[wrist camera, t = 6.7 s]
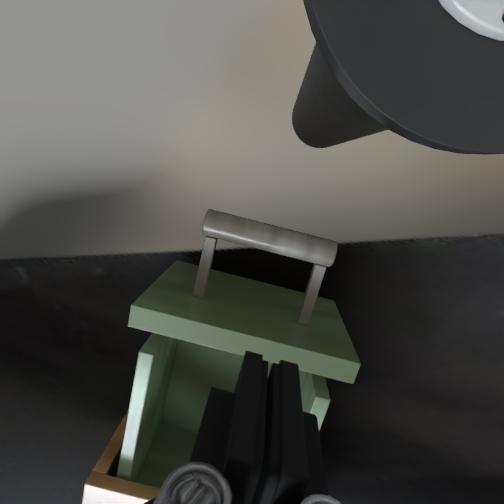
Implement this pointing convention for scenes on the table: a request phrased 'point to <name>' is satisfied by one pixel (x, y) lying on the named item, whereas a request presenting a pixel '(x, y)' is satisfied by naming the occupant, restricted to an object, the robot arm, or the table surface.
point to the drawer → (226, 341)
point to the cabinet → (114, 478)
